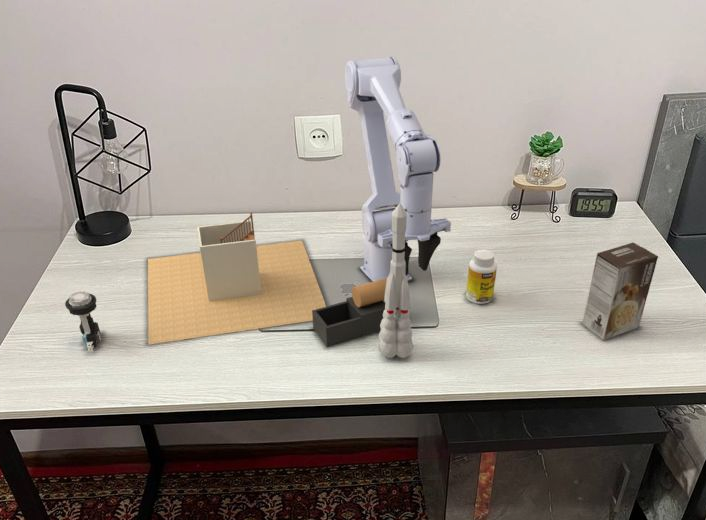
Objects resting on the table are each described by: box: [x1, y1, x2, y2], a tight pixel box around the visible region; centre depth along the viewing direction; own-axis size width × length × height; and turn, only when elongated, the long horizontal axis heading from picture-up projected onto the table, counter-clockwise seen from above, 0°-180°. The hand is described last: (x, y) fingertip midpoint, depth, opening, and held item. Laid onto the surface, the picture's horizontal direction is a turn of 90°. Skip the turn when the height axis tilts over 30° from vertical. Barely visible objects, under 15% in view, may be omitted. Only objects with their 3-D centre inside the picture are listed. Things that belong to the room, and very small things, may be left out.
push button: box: [64, 291, 102, 352], centre depth 128 cm, size 7×5×10 cm
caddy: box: [312, 296, 386, 348], centre depth 134 cm, size 7×13×5 cm, turn 117°
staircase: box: [196, 211, 263, 302], centre depth 142 cm, size 9×11×17 cm
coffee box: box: [581, 242, 659, 341], centre depth 131 cm, size 9×6×16 cm
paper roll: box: [351, 278, 387, 307], centre depth 132 cm, size 4×7×4 cm, turn 117°
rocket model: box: [378, 203, 414, 359], centre depth 120 cm, size 7×7×30 cm
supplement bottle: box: [465, 249, 498, 305], centre depth 141 cm, size 6×6×10 cm
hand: (413, 270), depth 134 cm, fingers open, 4 cm apart
